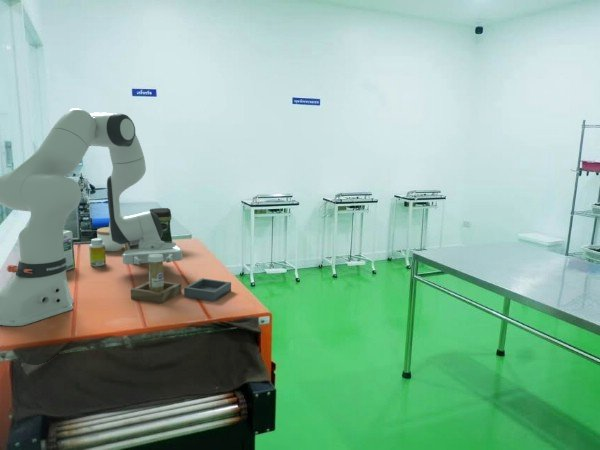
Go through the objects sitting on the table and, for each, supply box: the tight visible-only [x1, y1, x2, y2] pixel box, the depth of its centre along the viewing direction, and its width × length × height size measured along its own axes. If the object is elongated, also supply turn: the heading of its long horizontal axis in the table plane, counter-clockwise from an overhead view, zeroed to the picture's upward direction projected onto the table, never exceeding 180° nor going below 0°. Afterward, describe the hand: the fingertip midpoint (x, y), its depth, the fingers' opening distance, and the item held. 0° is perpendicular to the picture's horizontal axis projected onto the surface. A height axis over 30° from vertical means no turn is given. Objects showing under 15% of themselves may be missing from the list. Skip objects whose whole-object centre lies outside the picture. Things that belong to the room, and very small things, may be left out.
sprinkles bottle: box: [148, 254, 165, 292], centre depth 143 cm, size 5×5×13 cm
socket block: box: [130, 280, 182, 304], centre depth 144 cm, size 11×11×3 cm
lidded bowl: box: [96, 226, 125, 252], centre depth 200 cm, size 13×13×11 cm
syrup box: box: [63, 229, 76, 272], centre depth 168 cm, size 6×6×14 cm
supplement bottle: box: [88, 237, 107, 267], centre depth 175 cm, size 6×6×10 cm
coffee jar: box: [149, 207, 173, 242], centre depth 202 cm, size 10×8×19 cm
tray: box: [183, 277, 232, 303], centre depth 147 cm, size 11×11×3 cm
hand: (154, 261), depth 154 cm, fingers open, 8 cm apart
